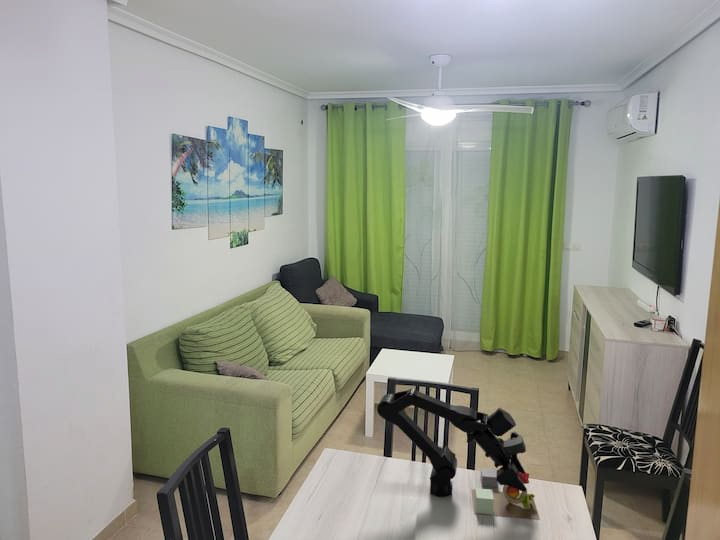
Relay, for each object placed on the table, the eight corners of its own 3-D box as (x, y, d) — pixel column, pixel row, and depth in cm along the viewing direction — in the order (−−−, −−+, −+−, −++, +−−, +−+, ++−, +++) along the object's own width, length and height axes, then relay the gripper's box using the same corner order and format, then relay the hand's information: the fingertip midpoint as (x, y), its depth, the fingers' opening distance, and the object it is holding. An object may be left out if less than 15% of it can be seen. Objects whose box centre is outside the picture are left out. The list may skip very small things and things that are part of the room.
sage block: (475, 513, 163) (476, 497, 162) (474, 503, 168) (475, 488, 167) (492, 514, 163) (493, 499, 162) (491, 504, 168) (492, 489, 167)
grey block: (481, 490, 178) (482, 476, 177) (480, 481, 183) (481, 468, 182) (497, 491, 177) (498, 477, 176) (495, 483, 182) (496, 469, 181)
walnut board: (473, 518, 163) (474, 513, 163) (471, 493, 176) (471, 489, 176) (539, 524, 161) (540, 519, 161) (531, 498, 173) (532, 494, 173)
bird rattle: (508, 515, 166) (538, 510, 162) (495, 481, 166) (524, 475, 162) (510, 504, 172) (539, 499, 168) (497, 471, 171) (526, 465, 168)
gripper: (510, 443, 156) (548, 484, 155) (510, 415, 173) (544, 452, 173) (481, 464, 159) (518, 505, 158) (483, 435, 177) (516, 471, 176)
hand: (525, 482), depth 166 cm, fingers open, 9 cm apart
